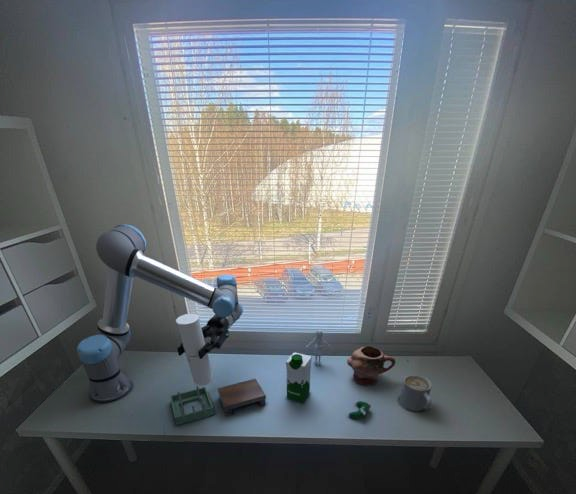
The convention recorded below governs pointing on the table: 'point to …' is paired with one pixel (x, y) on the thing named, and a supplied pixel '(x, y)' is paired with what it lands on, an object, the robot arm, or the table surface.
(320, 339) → the human figurine
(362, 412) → the green curved piece
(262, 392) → the brown slab
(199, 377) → the cylindrical container
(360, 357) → the clay jug
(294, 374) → the milk carton
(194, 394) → the drying rack
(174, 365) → the table surface
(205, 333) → the robot arm
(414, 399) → the coffee mug
